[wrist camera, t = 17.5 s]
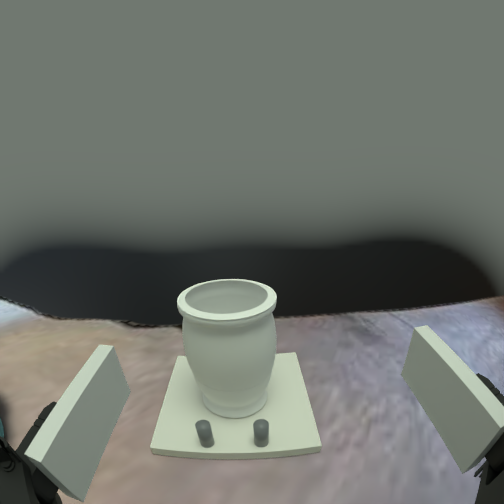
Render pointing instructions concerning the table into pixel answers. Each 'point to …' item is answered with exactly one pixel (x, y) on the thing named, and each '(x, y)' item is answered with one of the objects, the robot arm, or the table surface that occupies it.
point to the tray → (237, 419)
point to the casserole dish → (1, 429)
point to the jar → (230, 343)
